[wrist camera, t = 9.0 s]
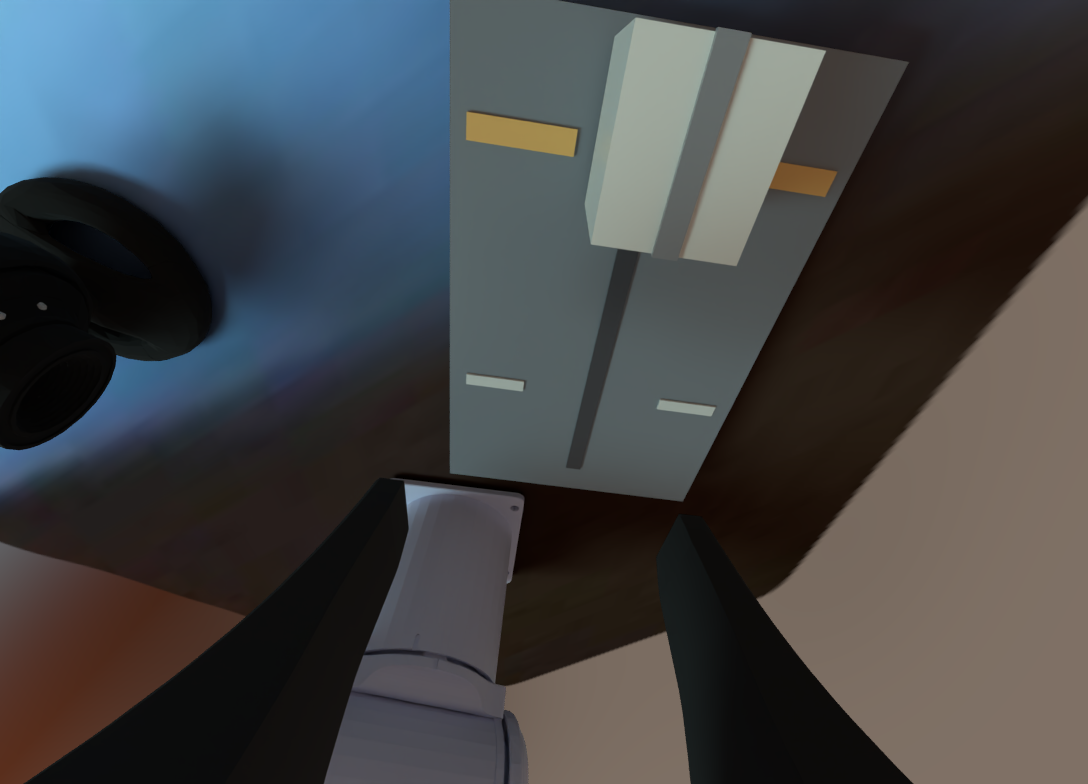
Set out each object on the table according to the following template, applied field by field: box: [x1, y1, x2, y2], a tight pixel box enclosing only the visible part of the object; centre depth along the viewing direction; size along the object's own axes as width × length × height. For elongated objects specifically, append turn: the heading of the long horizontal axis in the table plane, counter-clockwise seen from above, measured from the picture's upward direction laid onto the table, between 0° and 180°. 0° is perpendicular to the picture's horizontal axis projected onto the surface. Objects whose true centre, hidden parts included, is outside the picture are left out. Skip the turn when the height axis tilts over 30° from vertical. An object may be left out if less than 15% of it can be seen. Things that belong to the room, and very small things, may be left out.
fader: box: [585, 18, 826, 266], centre depth 10 cm, size 4×4×4 cm
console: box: [450, 0, 909, 501], centre depth 17 cm, size 18×12×2 cm, turn 172°
